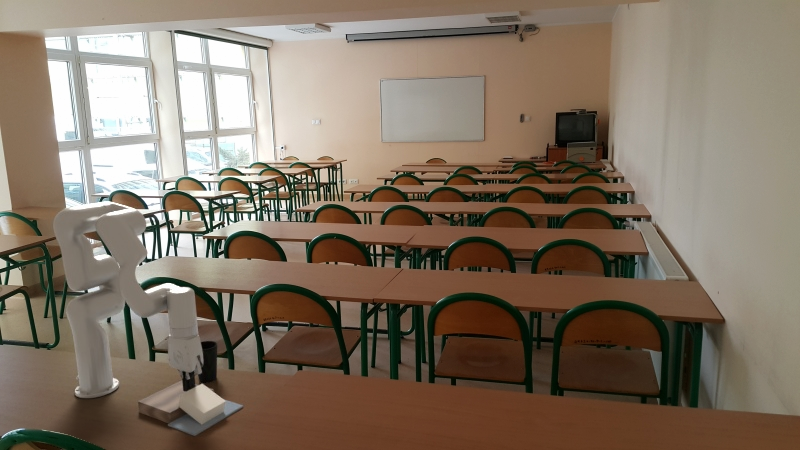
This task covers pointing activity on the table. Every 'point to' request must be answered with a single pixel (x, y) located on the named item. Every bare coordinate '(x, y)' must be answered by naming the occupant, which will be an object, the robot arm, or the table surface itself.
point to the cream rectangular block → (201, 403)
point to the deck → (164, 403)
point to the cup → (209, 362)
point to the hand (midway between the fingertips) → (189, 389)
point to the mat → (194, 427)
